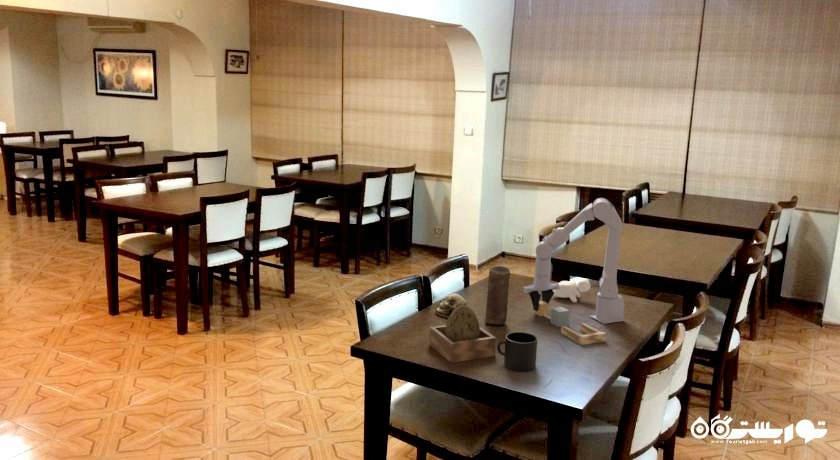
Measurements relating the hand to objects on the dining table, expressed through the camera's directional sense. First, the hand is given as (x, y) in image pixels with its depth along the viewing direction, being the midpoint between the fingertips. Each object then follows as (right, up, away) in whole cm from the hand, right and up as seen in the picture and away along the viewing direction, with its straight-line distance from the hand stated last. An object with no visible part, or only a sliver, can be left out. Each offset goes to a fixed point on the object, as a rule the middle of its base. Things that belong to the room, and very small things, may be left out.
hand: (540, 309), depth 259 cm
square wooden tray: (-31, -9, -37) cm, 49 cm away
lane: (+10, -7, -22) cm, 25 cm away
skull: (-33, -2, -3) cm, 33 cm away
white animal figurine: (+15, +2, +19) cm, 25 cm away
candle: (-18, -4, -12) cm, 21 cm away
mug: (-15, -12, -47) cm, 51 cm away
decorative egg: (-31, -9, -37) cm, 49 cm away
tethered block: (+3, -3, -6) cm, 7 cm away
